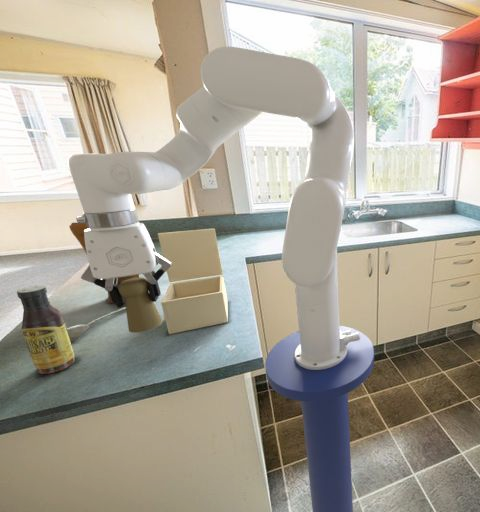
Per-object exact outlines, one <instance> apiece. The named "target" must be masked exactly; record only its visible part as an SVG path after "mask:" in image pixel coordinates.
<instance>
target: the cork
mask: <svg viewBox="0 0 480 512" xmlns="http://www.w3.org/2000/svg"><path fill="white" fill-rule="evenodd" d="M148 284H149V283H148V280H147V279H146V277H140V276H139V277H138V278H131V279H128V280H125V281H123V282H121V283H120V284H119V286H118V290H119V293H120V294H121V295H122V296H123V297H124V298H125V304H124V306H125V307H126V309H125V313H126V319H127V328H128V332H130V333H134V334H137V333H143V332H144V333H145V332H147V331H151V330H153V329H155V328H157V327H159V326H160V325H162V324H163V322H164V320H163V319H162V316H161V315H160V312H159V310H158V308H157V306H156V304H155V302H153V301H151V297H150V294H149V290H148V287H147V286H148Z"/></svg>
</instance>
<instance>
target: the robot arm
mask: <svg viewBox="0 0 480 512" xmlns="http://www.w3.org/2000/svg"><path fill="white" fill-rule="evenodd" d="M200 78H201V82H202V84H203V86H202V87H200V88H199V89H198V90H197V91H196V92H194V93H193V94H192V95H190V96H189V97H188V98H187V99H185V100H184V101H183V102H182V103H180V104H179V105H178V106H177V107H176V111H175V112H176V118H177V120H178V121H179V123H180V125H179V126H180V127H179V130H178V132H177V133H176V135H175V136H174V137H173V138H172V139H171V140H170V141H169V142H167V143H166V144H165V145H164V146H162V147H161V148H160V149H158V150H157V151H119V152H118V151H117V152H113V153H76V154H72V155H70V156H68V158H67V165H68V168H69V172H70V175H71V178H72V180H73V183H74V186H75V189H76V192H77V196H78V198H79V201H80V205H81V207H82V209H83V213H82V215H79V216H78V215H77V216H76V217H75V218H76V219H75V220H76V223H84V224H86V225H87V227H89V229H86V230H84V238H85V246H86V252H87V254H86V256H87V259H88V260H87V261H88V267H87V268H86V269H85V271H84V272H83V273H82V275H81V277H80V279H81V280H83V281H86V282H89V283H90V284H91V283H92V284H94V285H95V286H98V287H100V288H102V289H103V290H104V291H106V292H107V291H109V293H110V296H111V299H112V302H113V303H112V304H114V305H116V308H117V309H121V308H124V306H125V298H124V297H123V296H122V295H121V294H120V293H119V290H118V284H117V279H118V277H125V276H132V275H139V276H140V275H142V276H144V278H145V279H147V280H148V283H149V284H148V286H147V287H148V290H149V291H148V292H149V294H150V297H151V301H153V302H154V303H155V302H157V301H158V299H159V298H160V296H162V295H161V293H162V292H161V289H160V286H159V280H160V279H161V277H163V275H164V274H166V273H167V270H168V269H169V268H170V267H171V266H172V263H171V262H170V261H168V260H167V259H165V258H164V257H163V255H160V254H159V253H158V252H157V250H156V248H155V244H154V242H153V240H152V238H151V236H150V233H149V231H148V229H147V226H146V225H145V224H144V223H143V222H140V219H139V216H138V213H137V210H136V206H135V203H134V199H133V196H132V195H142V194H150V193H155V192H159V191H161V192H162V191H166V190H167V191H168V190H171V189H174V188H177V187H178V186H180V185H181V184H184V182H185V181H187V180H188V179H190V178H191V177H192V176H194V175H195V174H196V173H197V172H199V171H200V170H202V169H203V167H205V165H207V163H208V162H209V161H210V160H211V158H212V156H213V155H214V154H215V153H216V151H217V149H218V148H219V147H220V146H222V144H224V143H225V142H227V141H228V140H229V139H230V138H231V137H233V136H234V135H236V133H238V132H239V131H240V130H241V129H243V128H244V127H245V126H247V125H248V124H250V123H251V122H252V121H254V120H255V119H256V118H257V117H259V116H260V115H261V114H263V113H267V114H272V115H277V116H285V117H291V118H295V119H297V120H299V121H300V122H302V123H303V124H305V125H306V126H308V127H309V130H310V134H311V136H310V143H309V148H308V153H307V162H306V168H305V173H304V178H303V181H302V182H301V183H300V184H298V186H297V187H296V188H295V189H294V191H293V193H292V194H291V195H292V196H291V198H290V201H289V205H288V211H287V218H286V224H285V232H284V238H283V244H282V252H281V266H282V267H281V268H282V269H283V272H284V274H285V276H286V277H287V278H288V279H289V280H290V281H291V282H292V283H294V293H295V305H296V314H297V323H298V331H299V335H300V345H299V346H298V347H297V348H296V350H295V360H296V362H297V364H299V365H300V366H301V367H303V368H306V369H310V370H322V369H327V368H330V367H333V366H335V365H337V364H339V363H340V362H341V361H342V360H343V359H344V358H345V357H346V355H347V345H348V343H349V342H354V341H358V340H359V339H360V337H359V334H358V333H354V334H351V331H350V330H348V331H345V332H340V326H341V324H340V322H341V321H340V305H339V304H340V303H339V302H340V301H339V279H338V275H339V274H338V273H339V272H338V244H339V238H340V233H341V229H342V225H343V220H344V215H345V210H346V201H347V199H346V195H347V194H346V193H347V188H348V182H349V177H350V171H351V165H352V159H353V153H354V146H355V145H354V144H355V130H354V125H353V121H352V118H351V115H350V113H349V111H348V109H347V107H346V106H345V104H344V103H343V102H342V100H341V99H340V98H339V96H337V94H336V93H335V92H334V91H333V89H332V87H331V84H330V82H329V79H328V78H327V76H326V74H325V73H324V71H323V70H322V69H320V68H319V67H318V66H317V65H316V64H314V63H312V62H310V61H308V60H305V59H302V58H297V57H293V56H286V55H282V54H276V53H270V52H264V51H259V50H254V49H249V48H243V47H238V46H237V47H236V46H220V47H217V48H214V49H212V50H210V51H209V52H208V53H207V54H206V55H205V57H203V60H202V62H201V65H200ZM158 264H159V265H160V268H159V269H158V270H156V268H157V266H158ZM155 270H156V271H155Z"/></svg>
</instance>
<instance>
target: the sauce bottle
mask: <svg viewBox="0 0 480 512" xmlns="http://www.w3.org/2000/svg"><path fill="white" fill-rule="evenodd" d="M47 293H48V290H47V287H46V286H45V285H40V284H39V285H31V286H26V287H21V288H20V289H18V290H17V291H16V294H17V297H18V298H19V300H20V301H21V305H22V309H23V311H22V312H23V313H22V315H23V316H22V323H21V333H22V335H23V338H24V340H25V343H26V347H27V350H28V352H29V355H30V358H31V360H32V362H33V365H34V368H35V369H36V371H37V373H39V374H41V375H49V374H54V373H58V372H61V371H63V370H65V369H67V368H68V367H70V366H71V365H72V364H74V362H75V360H76V359H75V352H74V349H73V346H72V342H70V339H69V336H68V333H67V330H66V329H67V327H66V323H65V321H64V320H63V316H62V313H61V311H60V310H58V309H57V308H55V307H53V306H52V305H51V302H50V301H49V298H48V295H47Z"/></svg>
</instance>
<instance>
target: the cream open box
mask: <svg viewBox="0 0 480 512" xmlns="http://www.w3.org/2000/svg"><path fill="white" fill-rule="evenodd" d="M160 304H161V309H162V313H163V316H164V320H165V323H166V328H167V332H168V335H174V334H179V333H181V332H185V331H186V332H187V331H191V330H192V331H193V330H197V329H202V328H207V327H211V326H215V325H220V324H226V323H228V322H229V302H228V296H227V289H226V284H225V278H224V275H216V276H209V277H202V278H196V279H189V280H182V281H175V282H169V285H168V287H167V288H166V290H165V293H164V296H163V297H162V299H161V301H160Z"/></svg>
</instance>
